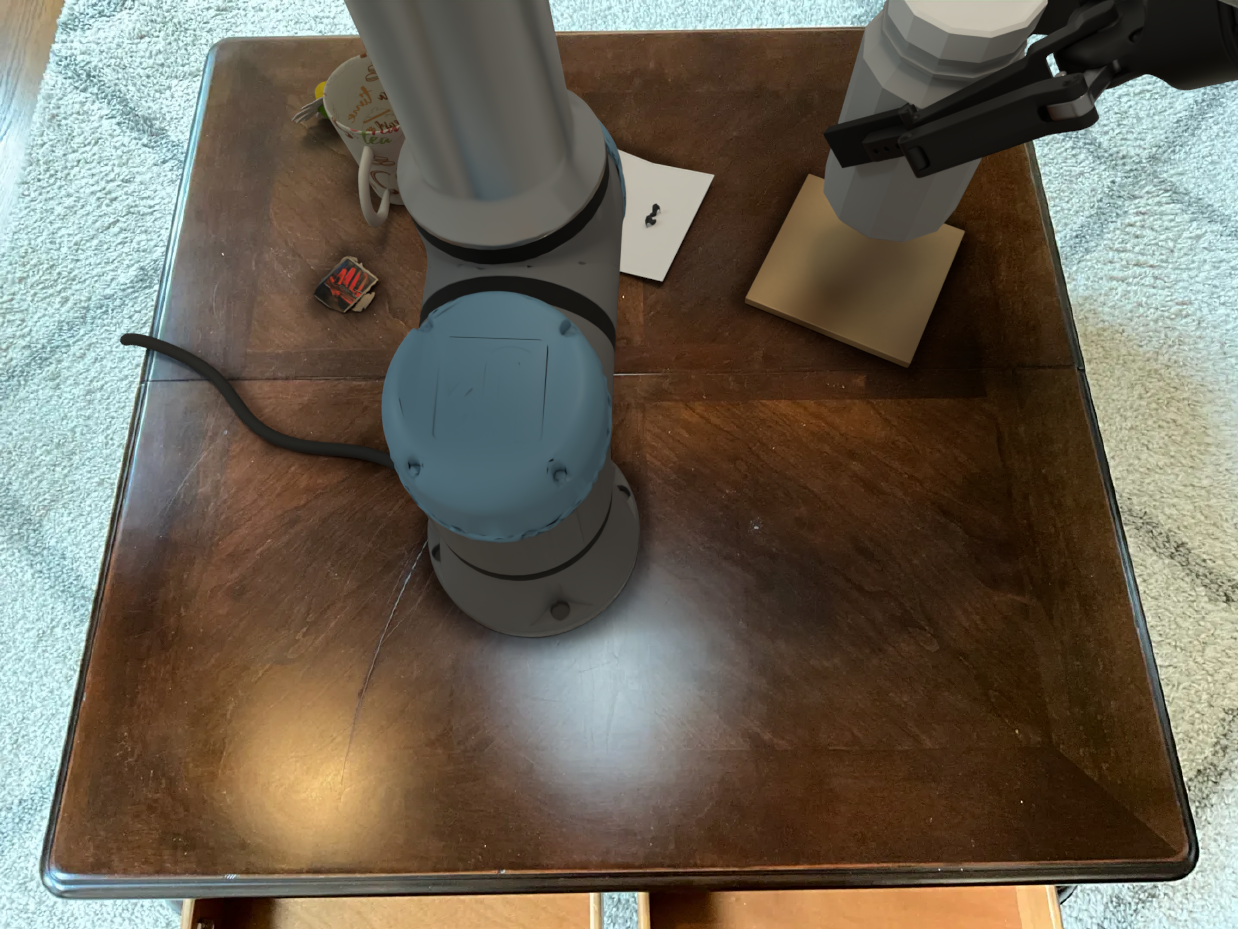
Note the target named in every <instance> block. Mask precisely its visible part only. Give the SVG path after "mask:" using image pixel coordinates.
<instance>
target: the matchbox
mask: <svg viewBox="0 0 1238 929" xmlns="http://www.w3.org/2000/svg"><path fill="white" fill-rule="evenodd" d="M377 281H379V278H377V275H374V274H373V273H371V271H369V269H366V268H365V267H364V266H363V262H360V263H359V262H358V258H357V257H355V256H352V255H347V254H346V256H344V257H343V258H341V260H340V261H339V262H338V264H335V265H334V267H333V268H332V269H331V270H330V272H329V273H327V275H326V276H323V277H322V278H321V279H320V281H319V283H318V285H317V286H316V288H315V290H314V292H313V293H312V295H313V296H314V297H315V298H316V299H317V300H318V301H320V302H322V305H323V304H324V305H325V306H327V307H328V308H331V309H333V310H336V311H338V312H340V313H346V312H347V311H348V310H351V311H354V312H362V311H363V309H364V310H366V309H367V307H369V304H370V303H371V302H372V300H373V299H374V297H375V295H376V293H375V291H371V294H370V293H367V292H370V290H371V288H372V287H373V286H374V285H376V283H377ZM355 303H356V304H355ZM354 305H355V306H354ZM353 306H354V307H353ZM352 307H353V308H352Z"/></svg>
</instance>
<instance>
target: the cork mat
mask: <svg viewBox="0 0 1238 929" xmlns="http://www.w3.org/2000/svg"><path fill="white" fill-rule="evenodd" d="M824 180H825V178H822V177H820V176H817V175H814V174H811V173H808V174H807V176H806V178H805V180H804V182H803V184H802V186H801V188H800V190H799V192H798V194H797V195H796V198H795V199H794V202H793V203H792V206H791V207H790V210H789V211H788V214H787V216H786V217H785V218H784V221H783V223H782V225H781V227H780V229H779V231H778V233H777V235H776V237H775V239H774V241H773V243H772V244H771V247H770V249H769V251H768V253H767V255H766V257H765V258H764V261H763V263H762V265H761V266H760V268H759V270H758V273H757V274H756V276H755V279H754V280H753V282H752V284H751V286H750V288H749V290H748V292H747V294H746V295H745V299H744V304H747V305H748V306H751V307H754V308H756V309H758V310H762V311H764V312H767V313H768V314H772V315H773V316H777V317H779V318H781V319H784V320H787V321H789V322H791V323H794V324H797V325H799V326H801V327H803V328H806V329H809V330H810V331H814V332H816V333H819V334H821V335H824V336H826V337H828V338H831V339H833V340H835V341H839V342H841V343H844V344H846V345H848V346H851V347H854V348H856V349H858V350H860V351H863V352H866V353H869V354H871V355H873V356H875V357H878V358H881V359H882V360H883V359H884V360H886V361H888V362H891V363H893V364H896V365H898V366H900V367H903V368H906V369H908V368H909V366H910V365H911V363H912V361H913V358H914V356H915V353H916V351H917V348H918V346H919V343H920V340H921V339H922V337H923V334H924V331H925V329H926V327H927V324H928V321H929V319H930V318H931V315H932V312H933V310H934V308H935V305H936V302H937V301H938V298H939V295H940V294H941V293H940V292H941V291H942V288H943V286H944V283H945V281H946V279H947V276H948V273H949V272H950V268H951V267H952V263H953V262H954V260H955V258H956V254H957V252H958V249H959V247H960V245H961V241H962V240H963V238H964V235H965V233H966V231H965V230H963V229H960V228H957V227H955V226H952V225H949V224H947V223H945V222H944V223H943V225H942V226H941V227H940V228H939V229H938V231H936V232H933V233H930V234H927V235H924V236H921V237H918V238H915V239H912V240H909V241H906V242H896V241H888V240H880V239H872V238H868V237H866V236H864V235H863V234H861V233H859V232H858V231H856V230H855V229H853V228H851V227H850V226H848V225H846V224H845V223H843V222H842V221H841V220H839V219H838V217H837V215H836V214H835V212H834V210H833V208H832V207H831V205H830V203H829V201H828V200H827V198H826V196H825V194H824V193H823V190H824Z"/></svg>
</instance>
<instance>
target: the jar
mask: <svg viewBox="0 0 1238 929" xmlns="http://www.w3.org/2000/svg"><path fill="white" fill-rule="evenodd" d="M1047 4H1048V0H885V1H884V3H883V5H882V6H883V7H882V9H881V10H880V11H879V12H878V13H876V15H875V16H874V17H873V18H872V19H871V20H870V21H869V23H868V24H866V26H865V27H864V31H863V34H862V38H861V42H860V45H859V48H858V52H857V55H856V59H855V62H854V66H853V69H852V72H851V75H850V80H849V82H848V83H849V84H848V86H847V90H846V93H845V98H844V101H843V104H842V108H841V111H840V114H839V118H838V121H837V124H840V123H844V122H848V121H851V120H855V119H859V118H863V117H866V116H870V115H874V114H878V113H881V112H885V111H889V110H893V109H897V108H900V107H902V106H903V105H905V104H906V103H908V102H909V104H910V105H912V104H914V105H915V107H916V110H917V111H919V110H921V109H923V108H925V107H927V106H929V105H931V104H933V103H935V102H937V101H939V100H941V99H943V98H945V97H947V96H949V95H951V94H953V93H955V92H957V91H959V90H961V89H963V88H965V87H967V86H969V85H971V84H973V83H975V82H977V81H979V80H981V79H983V78H985V77H987V76H989V75H990V74H992V73H994V72H996V71H998V70H1000V69H1002V68H1004V67H1006V66H1008V65H1010V64H1012V63H1014V62H1016V61H1018V60H1020V59H1022V58H1023V57H1025V55H1026V48H1027V47H1028V39H1027V37H1028V36H1029V35H1030V34H1031V33H1032V32H1033V30H1034V29H1035V27H1036V25H1037V23H1038V21H1039V19H1040V17H1041V15H1042V13H1043V11H1044V10H1045V8H1046V6H1047ZM982 159H983V157H982V158H979V159H976V160H973V161H970V162H967V163H964V164H961V165H959V166H956V167H953V168H950V169H947V170H944V171H941V172H938V173H935V174H932V175H929V176H926V177H923V178H916V177H915V175H914V173H913V171H912V169H911V167H910V165H909V163H908V161H907V159H906V158H905V156H904V157H899V158H894V159H889V160H884V161H880V162H871V163H866V164H861V165H856V166H852V167H847V168H842V167H841V165H840V164H839V162H838V160H837V158H836V157H835V155H834V153H833V151H832V149H831V148H830V150H829V153H828V157H827V160H826V164H825V170H824V171H825V172H824V179H825V180H824V190H823V193H824V194H825V196H826V198H827V200H828V201H829V203H830V205H831V207H832V208H833V210H834V212H835V214H836V215H837V217H838V219H839V220H841V221H842V222H843V223H845V224H846V225H848V226H850V227H851V228H853V229H855V230H856V231H858V232H859V233H861V234H863V235H864V236H866V237H868V238H872V239H880V240H888V241H896V242H906V241H909V240H912V239H915V238H918V237H921V236H924V235H927V234H930V233H933V232H936V231H938V229H939V228H940V227H941V226H942V225H943V223H944V224H945V223H946V221H947V220H948V219H949V218H950V217H951V215H952V214H953V213H954V212H955V211H956V210H957V207H958V206H959V204H960V201H961V200H962V198H963V196H964V194H965V192H966V190H967V188H968V186H969V184H970V182H971V181H972V179H973V177H974V175H975V172H976V170H977V169H978V167H979V165H980V163H981V161H982Z"/></svg>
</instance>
